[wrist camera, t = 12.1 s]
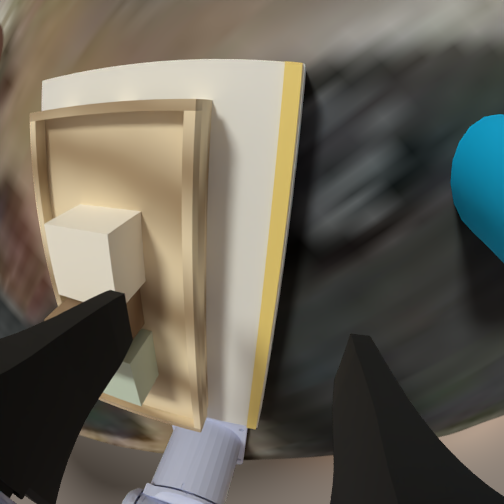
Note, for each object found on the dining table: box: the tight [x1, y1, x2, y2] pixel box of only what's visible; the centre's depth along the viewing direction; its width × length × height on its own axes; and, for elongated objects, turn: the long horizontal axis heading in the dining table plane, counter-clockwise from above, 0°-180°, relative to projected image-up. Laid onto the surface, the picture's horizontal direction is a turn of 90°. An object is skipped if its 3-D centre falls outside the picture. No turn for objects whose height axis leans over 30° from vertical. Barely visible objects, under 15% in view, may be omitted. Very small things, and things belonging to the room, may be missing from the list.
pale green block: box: [103, 329, 159, 406], centre depth 18 cm, size 4×4×3 cm
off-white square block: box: [44, 204, 146, 303], centre depth 15 cm, size 4×4×3 cm
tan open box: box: [30, 99, 212, 433], centre depth 16 cm, size 22×10×7 cm, turn 176°
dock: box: [42, 59, 306, 429], centre depth 20 cm, size 26×16×3 cm, turn 176°
